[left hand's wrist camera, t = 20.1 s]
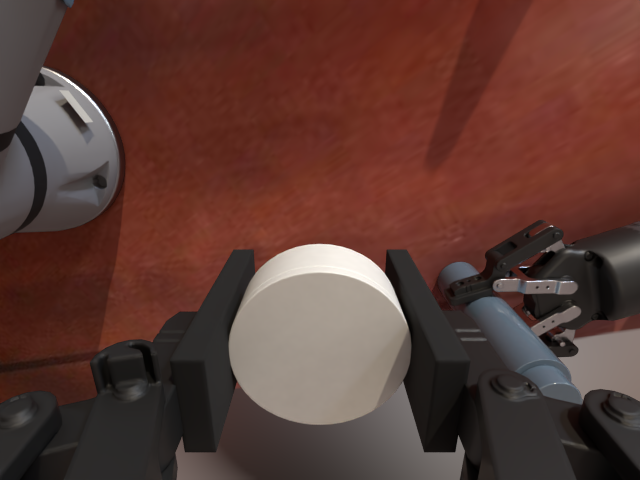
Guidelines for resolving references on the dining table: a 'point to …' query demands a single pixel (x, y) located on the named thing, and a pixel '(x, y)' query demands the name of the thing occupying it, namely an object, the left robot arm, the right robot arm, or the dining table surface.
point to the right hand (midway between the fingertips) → (453, 320)
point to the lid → (319, 336)
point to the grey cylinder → (513, 338)
